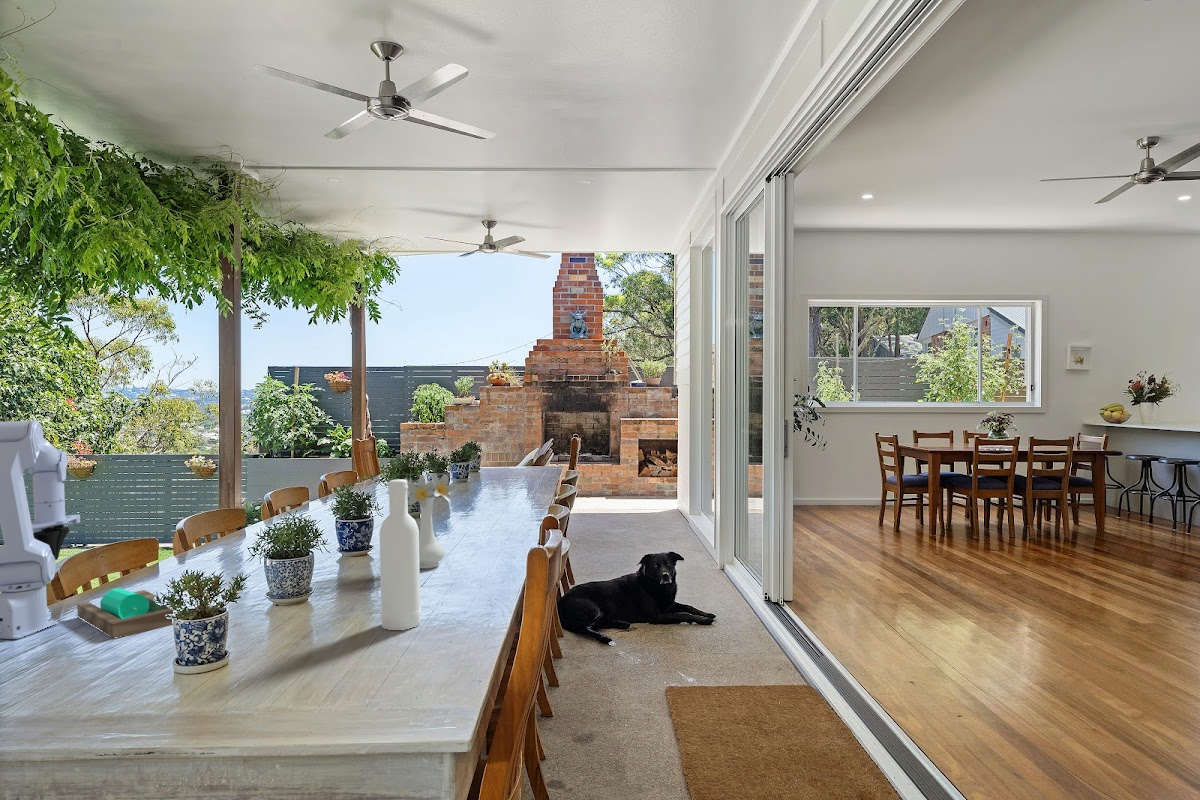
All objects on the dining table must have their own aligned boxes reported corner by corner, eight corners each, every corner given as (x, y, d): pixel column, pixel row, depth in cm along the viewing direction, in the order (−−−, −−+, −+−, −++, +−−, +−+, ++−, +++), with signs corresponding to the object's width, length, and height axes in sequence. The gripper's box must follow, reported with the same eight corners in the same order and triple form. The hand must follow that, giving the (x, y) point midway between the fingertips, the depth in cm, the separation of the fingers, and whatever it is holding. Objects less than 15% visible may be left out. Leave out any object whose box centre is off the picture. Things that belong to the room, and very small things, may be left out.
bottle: (410, 632, 146) (406, 483, 146) (374, 630, 148) (370, 482, 147) (427, 619, 154) (424, 477, 153) (393, 617, 156) (389, 477, 155)
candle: (105, 621, 159) (126, 629, 151) (95, 596, 158) (116, 603, 150) (135, 607, 163) (156, 614, 156) (125, 583, 162) (146, 589, 155)
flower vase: (397, 560, 205) (395, 472, 205) (463, 560, 205) (461, 471, 204) (383, 573, 192) (381, 478, 192) (453, 572, 192) (451, 477, 191)
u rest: (77, 617, 159) (77, 604, 159) (144, 602, 169) (143, 590, 169) (113, 639, 145) (113, 624, 145) (183, 621, 155) (183, 607, 155)
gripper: (37, 506, 160) (39, 568, 161) (90, 496, 175) (92, 552, 175) (8, 506, 161) (10, 567, 162) (64, 496, 176) (66, 552, 176)
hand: (51, 560), depth 169 cm, fingers closed
